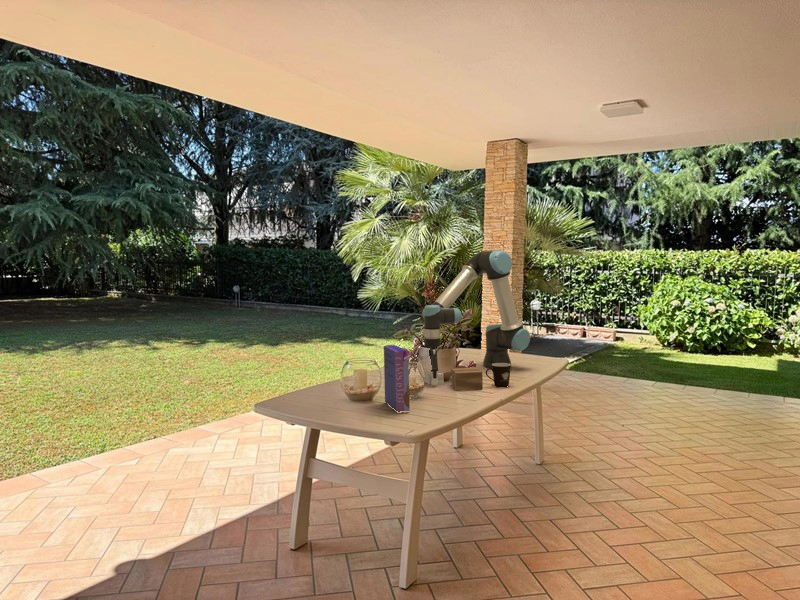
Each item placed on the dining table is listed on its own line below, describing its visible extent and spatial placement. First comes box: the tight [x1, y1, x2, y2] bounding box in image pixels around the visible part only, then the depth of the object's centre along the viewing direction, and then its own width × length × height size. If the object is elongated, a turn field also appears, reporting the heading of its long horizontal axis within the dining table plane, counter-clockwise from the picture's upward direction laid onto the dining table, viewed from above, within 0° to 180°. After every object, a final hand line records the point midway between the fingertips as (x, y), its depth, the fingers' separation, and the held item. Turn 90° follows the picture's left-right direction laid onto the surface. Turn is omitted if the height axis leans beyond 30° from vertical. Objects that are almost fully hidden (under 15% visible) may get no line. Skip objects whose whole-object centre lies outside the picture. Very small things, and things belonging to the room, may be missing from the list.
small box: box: [425, 372, 445, 385], centre depth 266 cm, size 8×8×5 cm
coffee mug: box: [485, 363, 512, 388], centre depth 256 cm, size 12×9×10 cm
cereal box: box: [383, 344, 411, 412], centre depth 221 cm, size 17×5×24 cm, turn 18°
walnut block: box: [451, 366, 484, 392], centre depth 255 cm, size 12×12×8 cm
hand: (432, 382), depth 266 cm, fingers open, 13 cm apart
